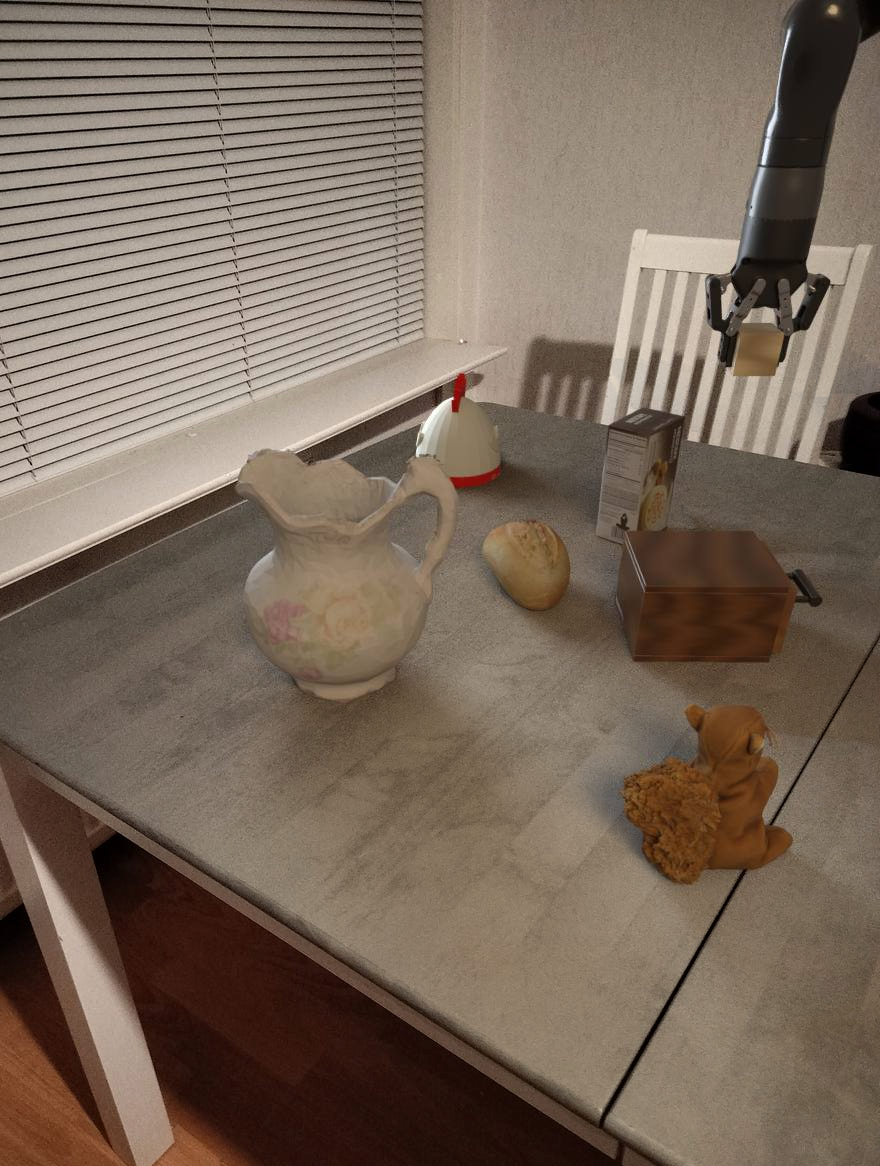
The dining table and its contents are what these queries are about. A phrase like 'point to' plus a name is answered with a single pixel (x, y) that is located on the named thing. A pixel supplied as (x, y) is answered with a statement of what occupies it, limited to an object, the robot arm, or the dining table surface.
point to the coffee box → (639, 473)
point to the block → (756, 350)
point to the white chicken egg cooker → (461, 439)
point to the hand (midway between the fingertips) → (749, 364)
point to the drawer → (793, 597)
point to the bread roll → (529, 562)
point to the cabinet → (699, 596)
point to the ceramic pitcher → (340, 569)
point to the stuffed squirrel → (709, 799)
